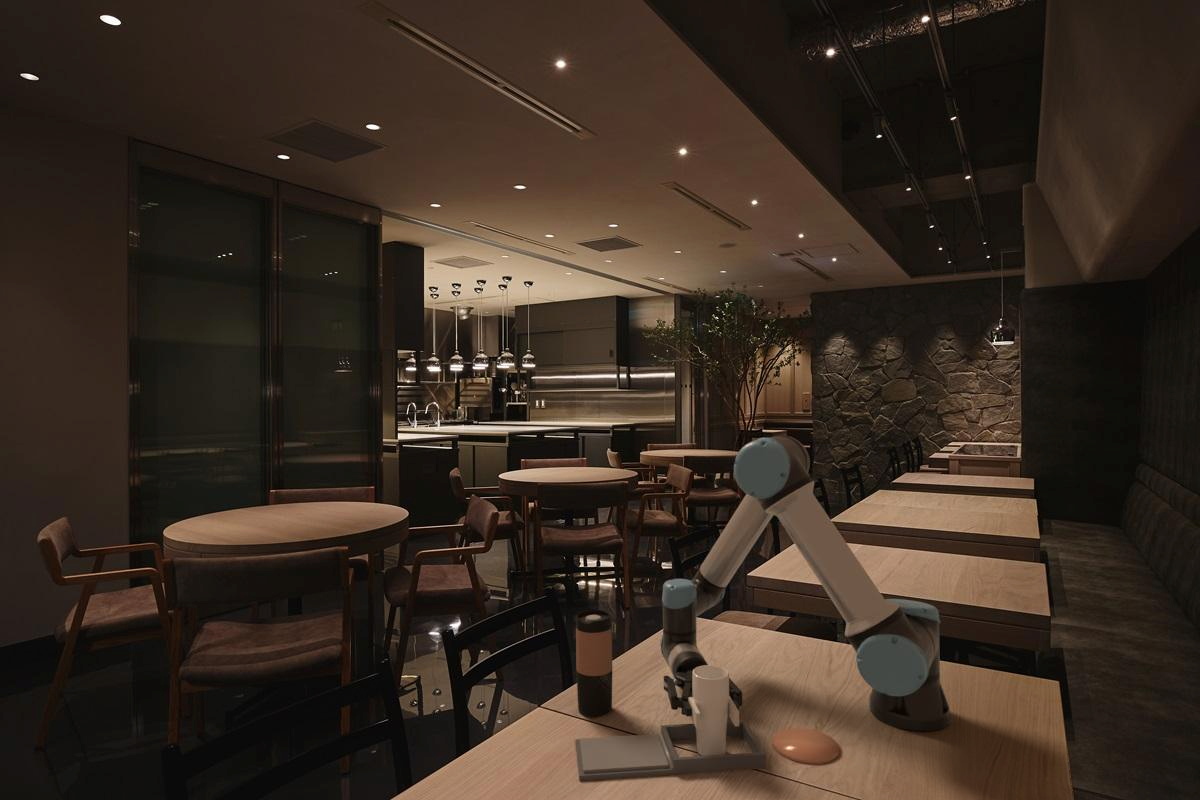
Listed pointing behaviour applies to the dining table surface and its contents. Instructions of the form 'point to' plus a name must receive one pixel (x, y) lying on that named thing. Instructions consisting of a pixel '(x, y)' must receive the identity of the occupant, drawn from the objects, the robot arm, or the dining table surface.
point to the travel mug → (594, 662)
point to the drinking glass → (711, 708)
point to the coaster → (805, 745)
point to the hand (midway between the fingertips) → (717, 719)
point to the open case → (660, 754)
